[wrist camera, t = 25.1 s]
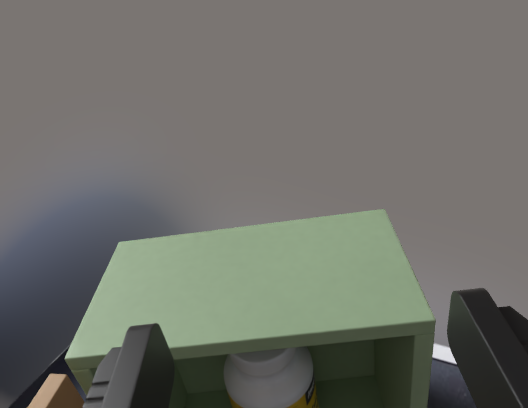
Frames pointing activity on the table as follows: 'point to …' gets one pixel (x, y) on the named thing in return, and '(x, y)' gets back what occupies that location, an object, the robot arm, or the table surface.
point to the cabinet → (272, 308)
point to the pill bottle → (271, 379)
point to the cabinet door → (57, 394)
